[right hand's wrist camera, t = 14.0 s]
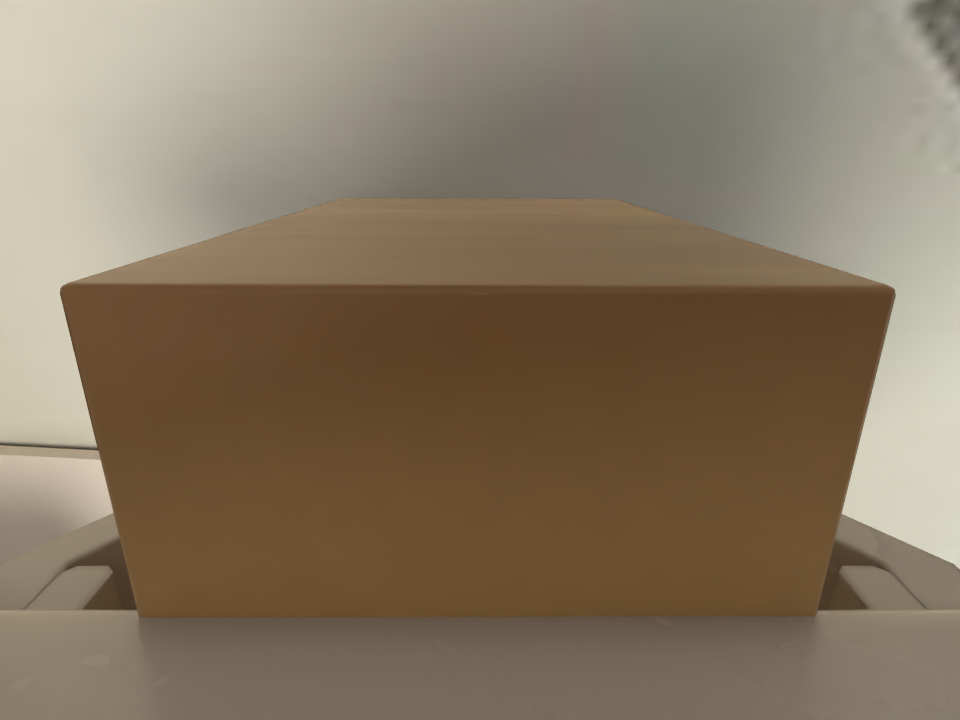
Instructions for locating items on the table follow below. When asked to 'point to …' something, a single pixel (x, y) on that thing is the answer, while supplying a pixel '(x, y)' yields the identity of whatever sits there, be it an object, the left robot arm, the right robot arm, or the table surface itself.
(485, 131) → the table surface
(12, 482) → the tablet stand
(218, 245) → the bar
